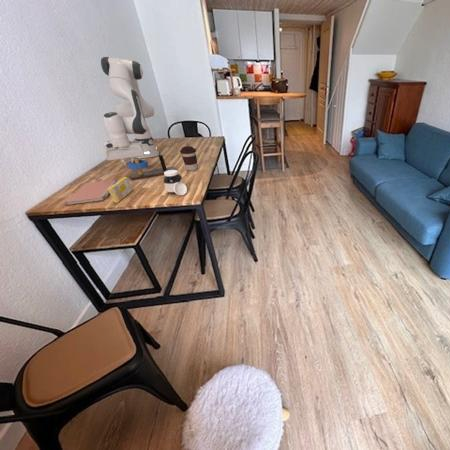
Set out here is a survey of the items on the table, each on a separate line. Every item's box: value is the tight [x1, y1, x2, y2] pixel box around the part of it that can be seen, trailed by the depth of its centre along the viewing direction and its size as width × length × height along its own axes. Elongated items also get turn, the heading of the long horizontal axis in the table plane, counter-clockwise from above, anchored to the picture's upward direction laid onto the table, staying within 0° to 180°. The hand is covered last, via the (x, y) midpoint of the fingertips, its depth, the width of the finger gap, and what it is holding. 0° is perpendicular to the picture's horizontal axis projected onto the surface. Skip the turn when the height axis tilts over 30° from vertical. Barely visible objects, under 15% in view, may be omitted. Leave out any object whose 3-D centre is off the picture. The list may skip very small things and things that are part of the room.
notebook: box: [65, 179, 118, 206], centre depth 139 cm, size 27×17×2 cm, turn 19°
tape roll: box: [126, 159, 149, 170], centre depth 158 cm, size 11×11×3 cm
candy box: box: [108, 176, 134, 204], centre depth 133 cm, size 16×2×8 cm, turn 5°
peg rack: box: [130, 154, 176, 181], centre depth 162 cm, size 26×10×12 cm, turn 122°
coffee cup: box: [179, 145, 199, 172], centre depth 169 cm, size 10×10×15 cm
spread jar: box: [163, 169, 188, 196], centre depth 136 cm, size 12×11×12 cm
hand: (129, 165), depth 155 cm, fingers closed on tape roll, 2 cm apart
